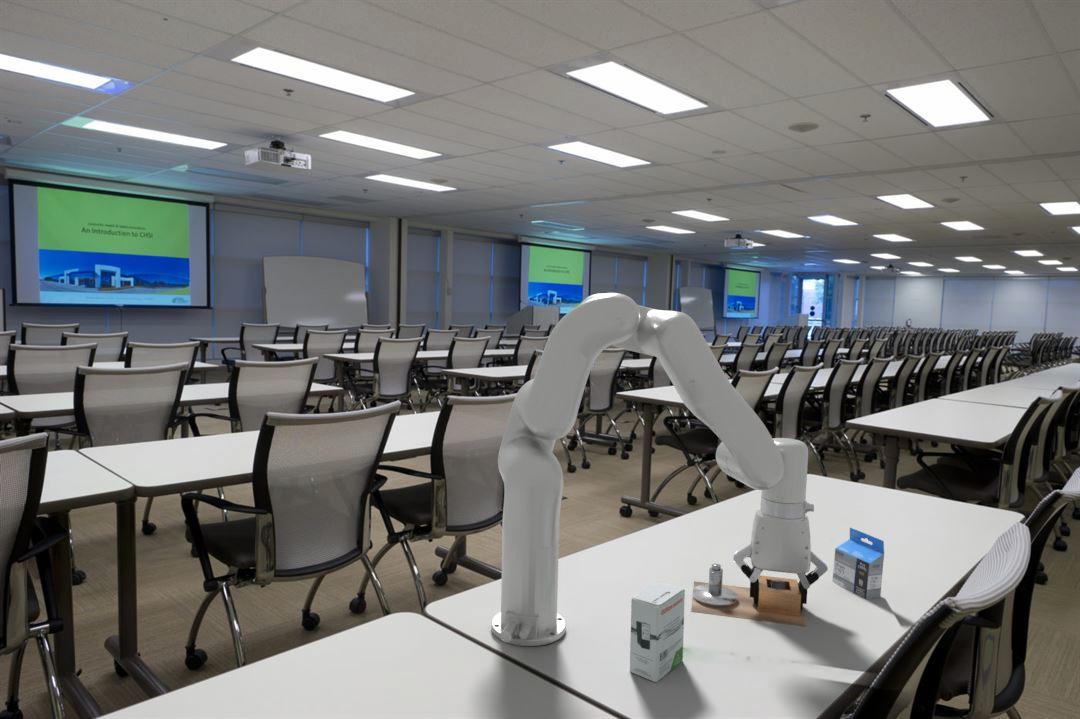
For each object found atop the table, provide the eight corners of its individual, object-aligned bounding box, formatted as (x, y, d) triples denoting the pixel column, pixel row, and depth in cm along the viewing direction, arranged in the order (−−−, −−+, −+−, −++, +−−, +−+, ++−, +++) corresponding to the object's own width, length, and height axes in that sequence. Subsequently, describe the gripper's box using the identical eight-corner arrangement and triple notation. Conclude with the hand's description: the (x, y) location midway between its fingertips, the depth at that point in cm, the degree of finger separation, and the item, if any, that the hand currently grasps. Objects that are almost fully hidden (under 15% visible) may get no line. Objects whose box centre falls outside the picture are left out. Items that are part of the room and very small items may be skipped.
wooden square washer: (799, 616, 123) (801, 594, 123) (758, 611, 125) (759, 589, 124) (795, 600, 130) (796, 579, 129) (756, 595, 132) (757, 575, 131)
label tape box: (830, 588, 140) (834, 528, 139) (846, 586, 141) (850, 526, 140) (865, 607, 131) (869, 543, 130) (882, 604, 133) (886, 541, 132)
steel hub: (737, 610, 125) (739, 575, 125) (691, 604, 127) (693, 570, 127) (736, 592, 133) (738, 560, 132) (693, 587, 135) (694, 555, 134)
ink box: (656, 650, 113) (659, 579, 112) (684, 661, 110) (687, 587, 109) (627, 672, 106) (630, 596, 105) (655, 684, 103) (658, 605, 102)
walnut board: (804, 634, 120) (806, 600, 119) (690, 619, 124) (692, 586, 124) (796, 601, 133) (797, 570, 133) (693, 588, 138) (695, 558, 137)
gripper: (831, 506, 127) (825, 601, 129) (732, 497, 132) (727, 590, 133) (838, 519, 120) (831, 619, 122) (732, 509, 124) (728, 606, 126)
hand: (777, 603), depth 127 cm, fingers closed on wooden square washer, 7 cm apart
